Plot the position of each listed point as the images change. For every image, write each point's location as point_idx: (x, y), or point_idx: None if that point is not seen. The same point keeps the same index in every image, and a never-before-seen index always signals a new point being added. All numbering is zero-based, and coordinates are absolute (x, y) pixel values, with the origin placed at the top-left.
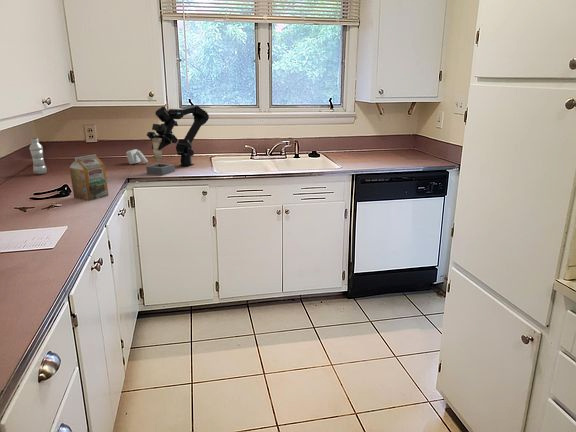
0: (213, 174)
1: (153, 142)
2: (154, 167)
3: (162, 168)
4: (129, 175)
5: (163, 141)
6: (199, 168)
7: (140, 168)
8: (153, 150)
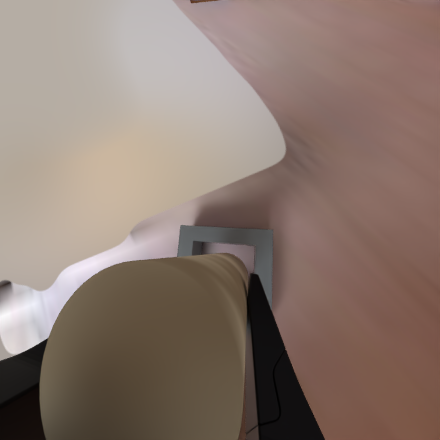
0: (40, 303)
1: (192, 259)
2: (222, 227)
3: (181, 228)
4: (311, 178)
5: (45, 341)
6: None
7: (388, 325)
8: (231, 261)
